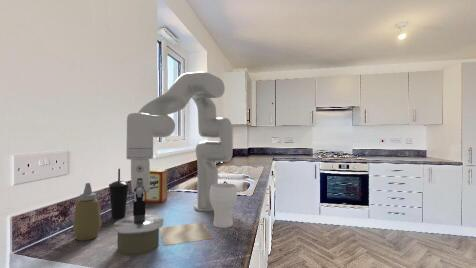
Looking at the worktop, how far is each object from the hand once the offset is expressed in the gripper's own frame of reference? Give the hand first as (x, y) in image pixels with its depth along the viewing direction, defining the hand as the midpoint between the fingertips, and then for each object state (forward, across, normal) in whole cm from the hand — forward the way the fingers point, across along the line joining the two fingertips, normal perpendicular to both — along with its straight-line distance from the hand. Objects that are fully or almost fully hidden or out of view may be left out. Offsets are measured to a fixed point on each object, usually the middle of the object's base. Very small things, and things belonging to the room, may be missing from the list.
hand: (139, 210), depth 77 cm
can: (+12, 0, 0) cm, 12 cm away
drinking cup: (+11, +34, +8) cm, 37 cm away
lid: (+5, 0, 0) cm, 5 cm away
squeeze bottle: (+11, +14, +16) cm, 24 cm away
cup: (+11, +10, -30) cm, 34 cm away
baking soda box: (+11, +56, -8) cm, 58 cm away
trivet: (+11, +6, -15) cm, 20 cm away
